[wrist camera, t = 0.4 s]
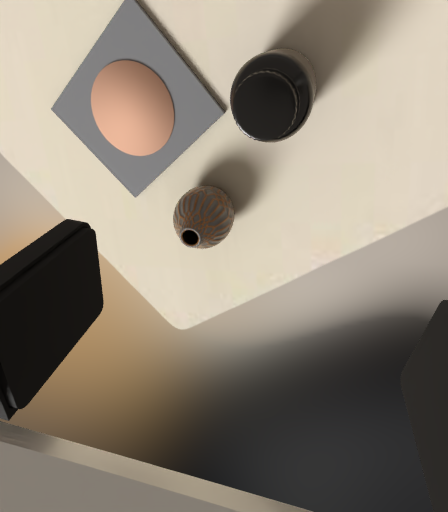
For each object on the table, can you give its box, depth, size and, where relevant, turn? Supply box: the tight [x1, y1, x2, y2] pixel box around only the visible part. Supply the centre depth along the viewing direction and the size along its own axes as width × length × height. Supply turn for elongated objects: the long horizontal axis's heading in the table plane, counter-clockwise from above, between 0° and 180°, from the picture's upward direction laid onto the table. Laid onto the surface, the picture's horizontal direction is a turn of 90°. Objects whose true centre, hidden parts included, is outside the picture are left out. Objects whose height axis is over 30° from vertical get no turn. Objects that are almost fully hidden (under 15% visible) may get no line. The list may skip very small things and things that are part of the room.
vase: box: [173, 186, 234, 249], centre depth 40 cm, size 7×7×9 cm
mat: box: [51, 0, 225, 197], centre depth 39 cm, size 16×14×1 cm
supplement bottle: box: [230, 48, 316, 142], centre depth 30 cm, size 7×7×12 cm
